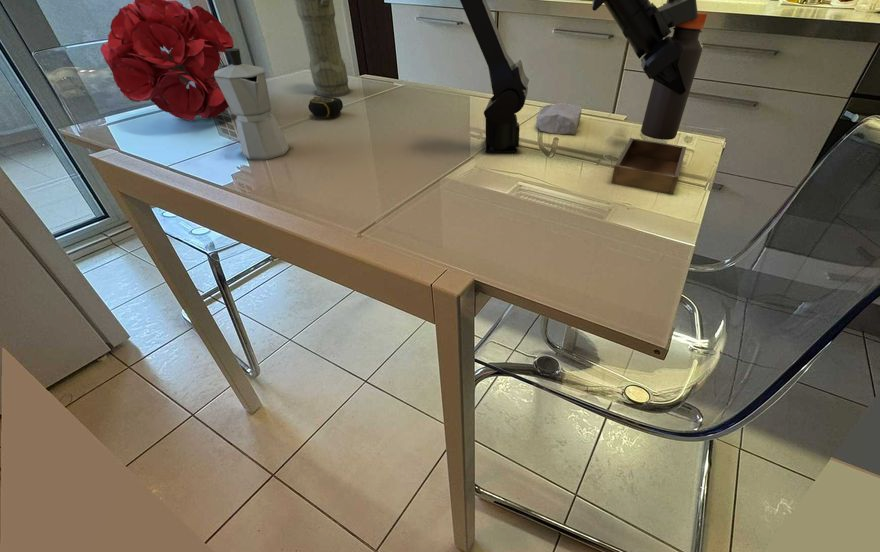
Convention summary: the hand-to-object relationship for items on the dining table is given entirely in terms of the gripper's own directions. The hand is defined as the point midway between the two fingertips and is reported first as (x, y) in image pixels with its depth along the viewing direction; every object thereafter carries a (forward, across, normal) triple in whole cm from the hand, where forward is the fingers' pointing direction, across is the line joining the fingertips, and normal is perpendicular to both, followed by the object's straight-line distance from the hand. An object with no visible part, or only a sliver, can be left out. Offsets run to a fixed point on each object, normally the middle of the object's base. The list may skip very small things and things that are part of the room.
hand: (679, 87), depth 81 cm
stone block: (-5, +16, +25) cm, 30 cm away
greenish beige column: (-48, +31, +69) cm, 90 cm away
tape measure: (-44, +13, +64) cm, 79 cm away
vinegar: (+5, -1, +8) cm, 9 cm away
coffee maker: (-46, -10, +67) cm, 82 cm away
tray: (+7, -7, +12) cm, 16 cm away
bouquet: (-63, +8, +84) cm, 105 cm away
